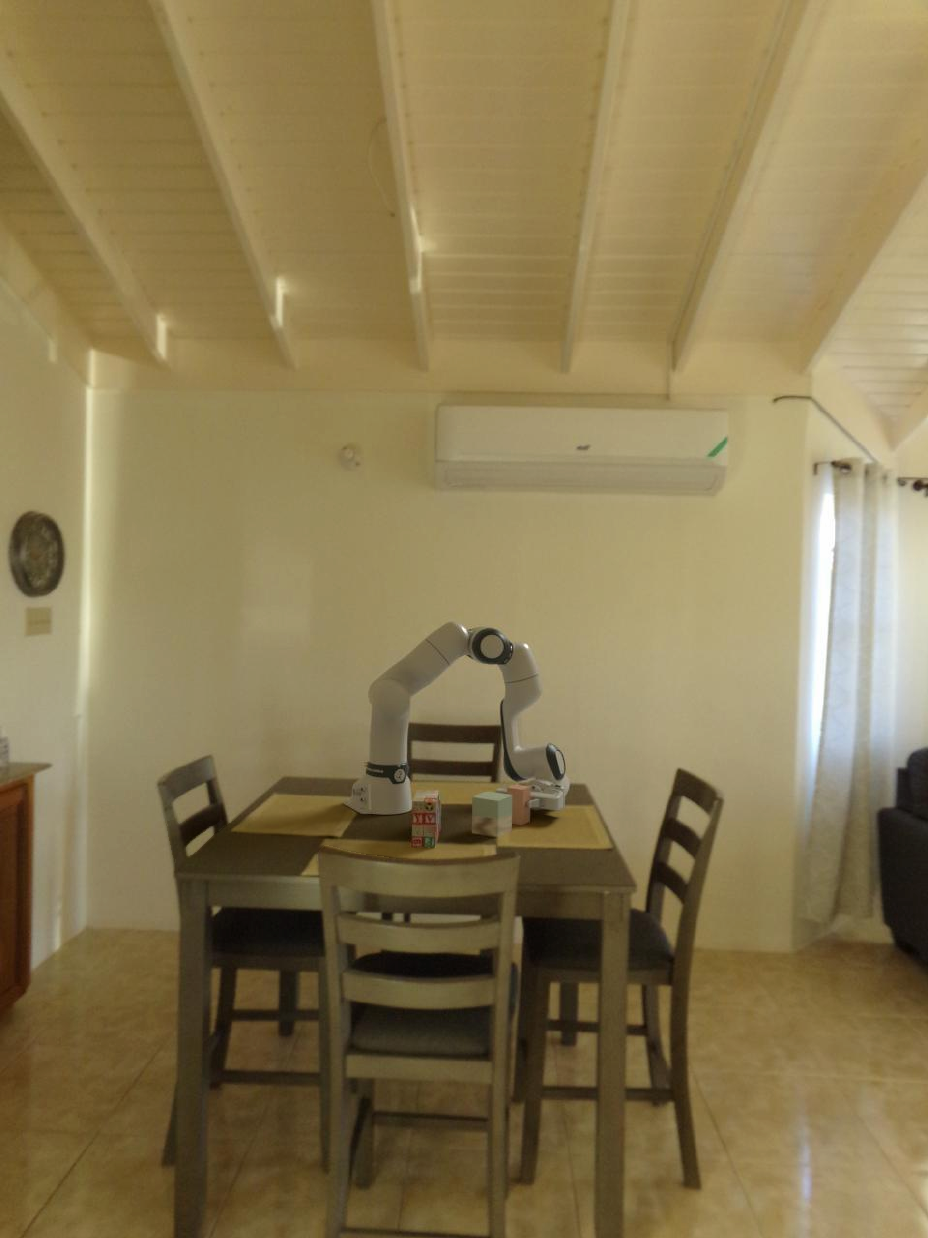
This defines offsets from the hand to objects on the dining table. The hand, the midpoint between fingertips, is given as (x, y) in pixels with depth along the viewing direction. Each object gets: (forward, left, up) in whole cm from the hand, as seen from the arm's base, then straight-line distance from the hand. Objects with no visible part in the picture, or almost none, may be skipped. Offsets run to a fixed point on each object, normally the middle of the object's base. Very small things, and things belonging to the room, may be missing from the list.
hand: (517, 803), depth 264 cm
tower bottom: (+3, -12, -6) cm, 14 cm away
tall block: (0, +1, -6) cm, 6 cm away
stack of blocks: (-4, -29, -6) cm, 30 cm away
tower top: (+3, -12, -1) cm, 12 cm away
